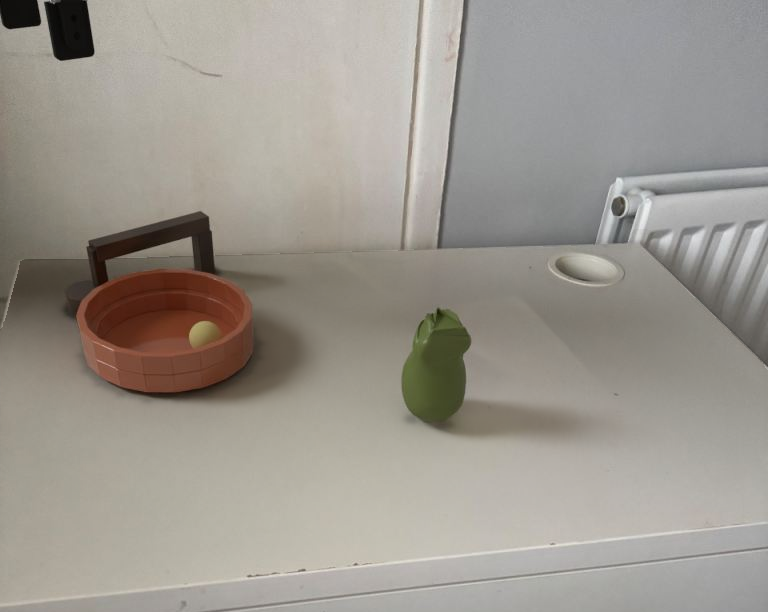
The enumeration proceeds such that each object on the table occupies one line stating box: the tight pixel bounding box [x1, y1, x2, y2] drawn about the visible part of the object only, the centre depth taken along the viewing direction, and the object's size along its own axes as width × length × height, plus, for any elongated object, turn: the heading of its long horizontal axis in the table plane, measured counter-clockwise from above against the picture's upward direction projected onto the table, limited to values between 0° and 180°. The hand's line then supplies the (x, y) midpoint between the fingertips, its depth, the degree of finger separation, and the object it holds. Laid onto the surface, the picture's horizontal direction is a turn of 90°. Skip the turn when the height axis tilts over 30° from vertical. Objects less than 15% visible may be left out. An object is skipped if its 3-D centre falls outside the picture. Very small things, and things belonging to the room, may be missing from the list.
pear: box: [400, 306, 472, 423], centre depth 70 cm, size 6×5×10 cm
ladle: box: [64, 210, 216, 317], centre depth 84 cm, size 16×4×6 cm, turn 131°
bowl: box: [75, 268, 255, 393], centre depth 77 cm, size 15×15×4 cm
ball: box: [189, 321, 222, 349], centre depth 77 cm, size 3×3×3 cm
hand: (48, 41), depth 69 cm, fingers open, 9 cm apart
